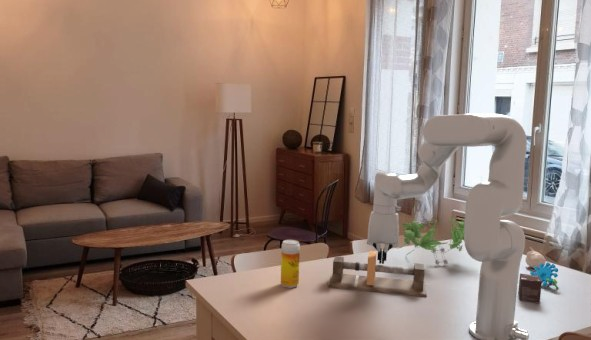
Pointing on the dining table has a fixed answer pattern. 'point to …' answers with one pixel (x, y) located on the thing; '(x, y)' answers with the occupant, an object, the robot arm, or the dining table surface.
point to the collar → (371, 268)
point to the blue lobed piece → (546, 274)
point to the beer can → (290, 263)
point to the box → (529, 288)
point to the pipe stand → (378, 278)
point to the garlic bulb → (534, 259)
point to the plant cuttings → (414, 234)
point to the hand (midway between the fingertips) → (381, 262)
